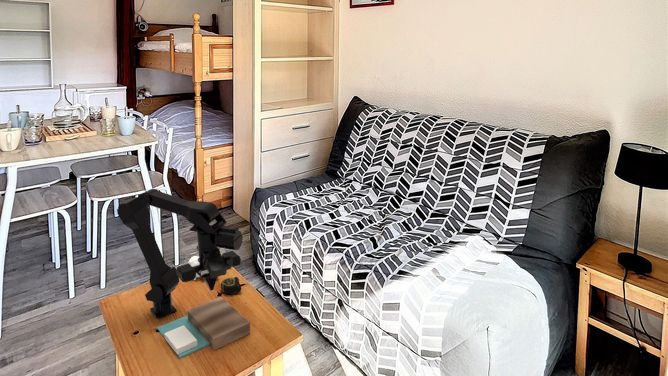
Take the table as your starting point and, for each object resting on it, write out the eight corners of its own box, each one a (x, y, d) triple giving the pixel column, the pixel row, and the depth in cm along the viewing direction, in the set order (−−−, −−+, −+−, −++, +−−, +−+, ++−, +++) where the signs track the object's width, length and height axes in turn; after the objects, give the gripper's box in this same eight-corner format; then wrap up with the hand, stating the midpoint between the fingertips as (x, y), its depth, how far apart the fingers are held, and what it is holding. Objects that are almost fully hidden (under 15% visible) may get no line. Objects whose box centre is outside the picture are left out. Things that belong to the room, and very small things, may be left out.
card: (183, 325, 134) (184, 330, 135) (164, 333, 130) (165, 338, 131) (196, 340, 128) (197, 345, 129) (176, 348, 124) (177, 354, 125)
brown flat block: (188, 320, 140) (186, 310, 139) (222, 306, 148) (221, 296, 147) (214, 350, 128) (213, 338, 126) (250, 333, 135) (249, 322, 134)
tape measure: (242, 294, 156) (241, 285, 155) (222, 297, 154) (221, 288, 152) (239, 284, 162) (238, 275, 161) (220, 287, 160) (219, 278, 158)
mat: (157, 328, 136) (157, 327, 136) (188, 316, 143) (188, 315, 142) (180, 358, 124) (179, 356, 124) (212, 343, 131) (212, 341, 130)
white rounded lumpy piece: (193, 251, 166) (222, 258, 165) (193, 271, 169) (222, 277, 168) (185, 259, 161) (215, 265, 159) (185, 279, 163) (215, 285, 162)
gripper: (187, 264, 120) (192, 312, 125) (248, 246, 131) (250, 291, 136) (173, 249, 128) (177, 295, 133) (231, 233, 139) (234, 276, 145)
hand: (211, 289), depth 137 cm, fingers closed
